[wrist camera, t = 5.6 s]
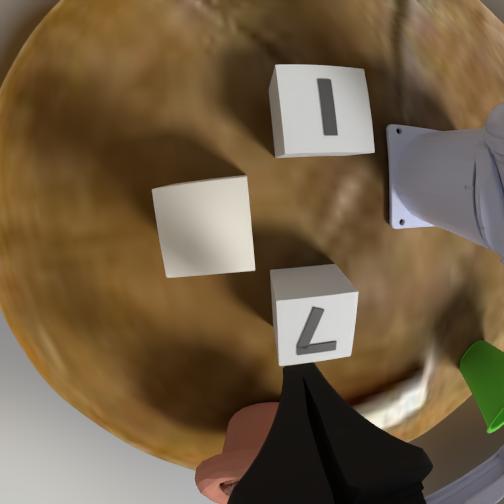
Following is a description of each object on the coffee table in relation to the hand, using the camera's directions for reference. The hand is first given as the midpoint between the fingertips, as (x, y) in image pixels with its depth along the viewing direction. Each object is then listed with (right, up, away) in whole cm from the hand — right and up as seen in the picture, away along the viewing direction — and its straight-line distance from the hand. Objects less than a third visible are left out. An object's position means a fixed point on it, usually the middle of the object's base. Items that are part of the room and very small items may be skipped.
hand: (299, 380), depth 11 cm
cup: (+27, -8, +14) cm, 31 cm away
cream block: (-5, +8, +8) cm, 12 cm away
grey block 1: (+2, +15, +6) cm, 16 cm away
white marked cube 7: (+2, +2, +10) cm, 10 cm away
